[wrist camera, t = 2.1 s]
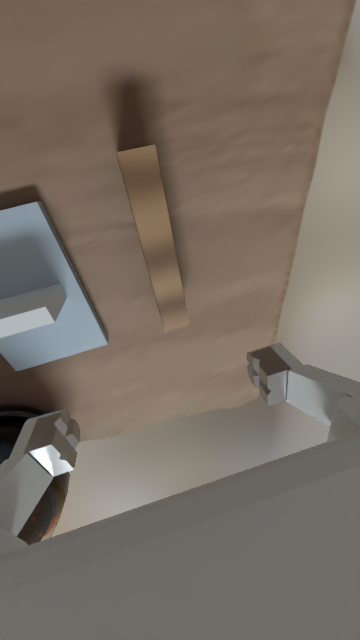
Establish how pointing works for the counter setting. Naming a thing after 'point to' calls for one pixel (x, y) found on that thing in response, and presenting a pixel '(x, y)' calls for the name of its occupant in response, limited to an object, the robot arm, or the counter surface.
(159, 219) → the wooden block
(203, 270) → the counter surface
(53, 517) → the amphora vase
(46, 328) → the balance stand
